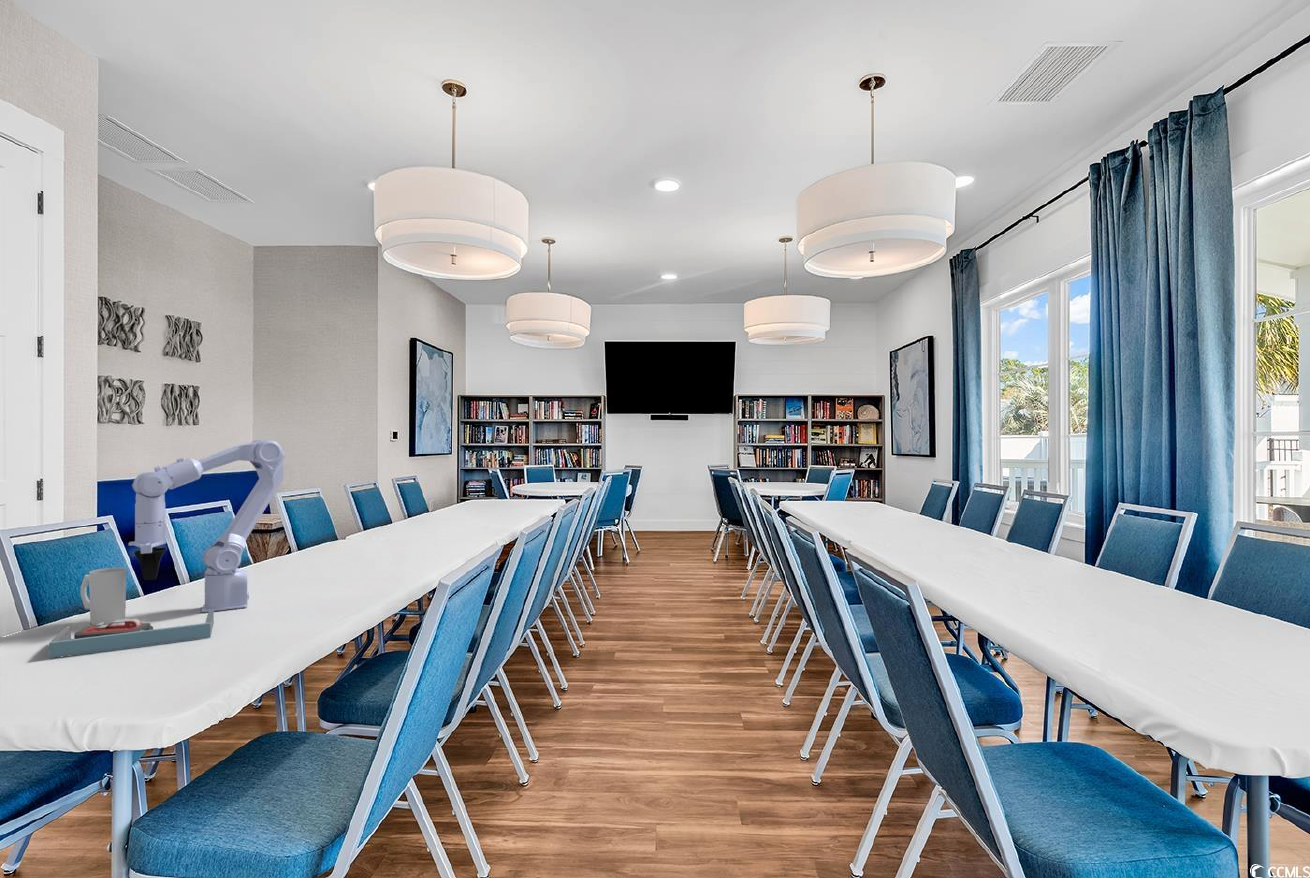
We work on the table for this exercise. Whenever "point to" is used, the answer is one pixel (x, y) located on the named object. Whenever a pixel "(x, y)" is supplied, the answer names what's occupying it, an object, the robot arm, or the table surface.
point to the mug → (105, 595)
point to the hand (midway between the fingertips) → (150, 579)
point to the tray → (128, 639)
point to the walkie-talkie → (113, 628)
